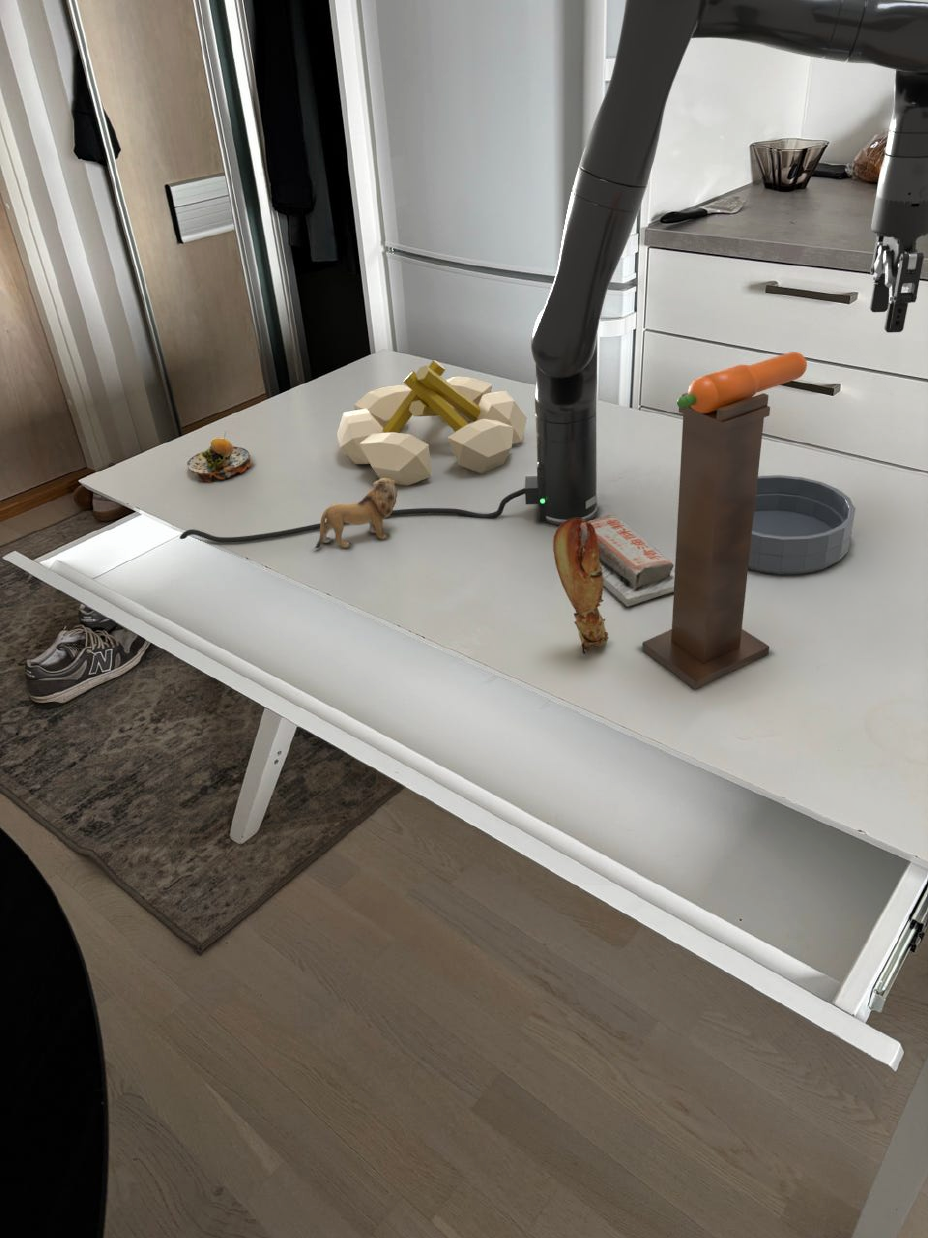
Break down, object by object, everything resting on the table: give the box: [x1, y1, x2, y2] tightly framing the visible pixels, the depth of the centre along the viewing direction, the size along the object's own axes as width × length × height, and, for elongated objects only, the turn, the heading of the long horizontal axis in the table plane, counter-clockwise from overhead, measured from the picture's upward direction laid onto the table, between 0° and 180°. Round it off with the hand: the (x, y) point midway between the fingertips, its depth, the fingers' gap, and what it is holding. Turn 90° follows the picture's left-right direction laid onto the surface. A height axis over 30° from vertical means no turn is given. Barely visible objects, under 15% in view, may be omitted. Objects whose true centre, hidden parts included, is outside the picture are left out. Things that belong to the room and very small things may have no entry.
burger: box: [187, 430, 253, 483], centre depth 176 cm, size 12×12×8 cm
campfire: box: [336, 359, 527, 487], centre depth 174 cm, size 35×34×17 cm
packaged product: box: [580, 515, 675, 608], centre depth 136 cm, size 18×5×10 cm
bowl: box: [748, 474, 856, 575], centre depth 139 cm, size 20×20×6 cm
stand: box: [641, 392, 771, 690], centre depth 110 cm, size 12×10×34 cm
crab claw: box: [552, 517, 609, 655], centre depth 117 cm, size 7×5×20 cm
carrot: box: [676, 351, 808, 413], centre depth 101 cm, size 18×4×4 cm, turn 120°
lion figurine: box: [314, 478, 398, 549], centre depth 149 cm, size 15×5×9 cm, turn 116°
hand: (885, 321), depth 128 cm, fingers open, 8 cm apart
